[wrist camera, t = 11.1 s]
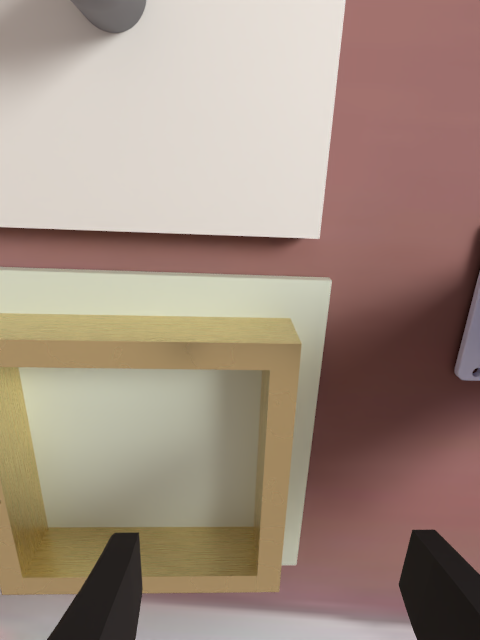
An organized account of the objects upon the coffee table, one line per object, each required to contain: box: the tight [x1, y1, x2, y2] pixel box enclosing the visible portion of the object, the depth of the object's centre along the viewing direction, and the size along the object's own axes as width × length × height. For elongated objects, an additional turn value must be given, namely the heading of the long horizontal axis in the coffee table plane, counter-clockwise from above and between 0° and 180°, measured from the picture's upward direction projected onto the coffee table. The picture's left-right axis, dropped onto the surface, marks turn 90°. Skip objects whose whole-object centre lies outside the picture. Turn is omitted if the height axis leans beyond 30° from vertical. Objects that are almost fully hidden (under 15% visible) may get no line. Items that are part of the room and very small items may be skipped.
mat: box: [0, 267, 332, 565], centre depth 21 cm, size 18×18×1 cm
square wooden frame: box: [0, 313, 302, 595], centre depth 19 cm, size 14×14×3 cm
